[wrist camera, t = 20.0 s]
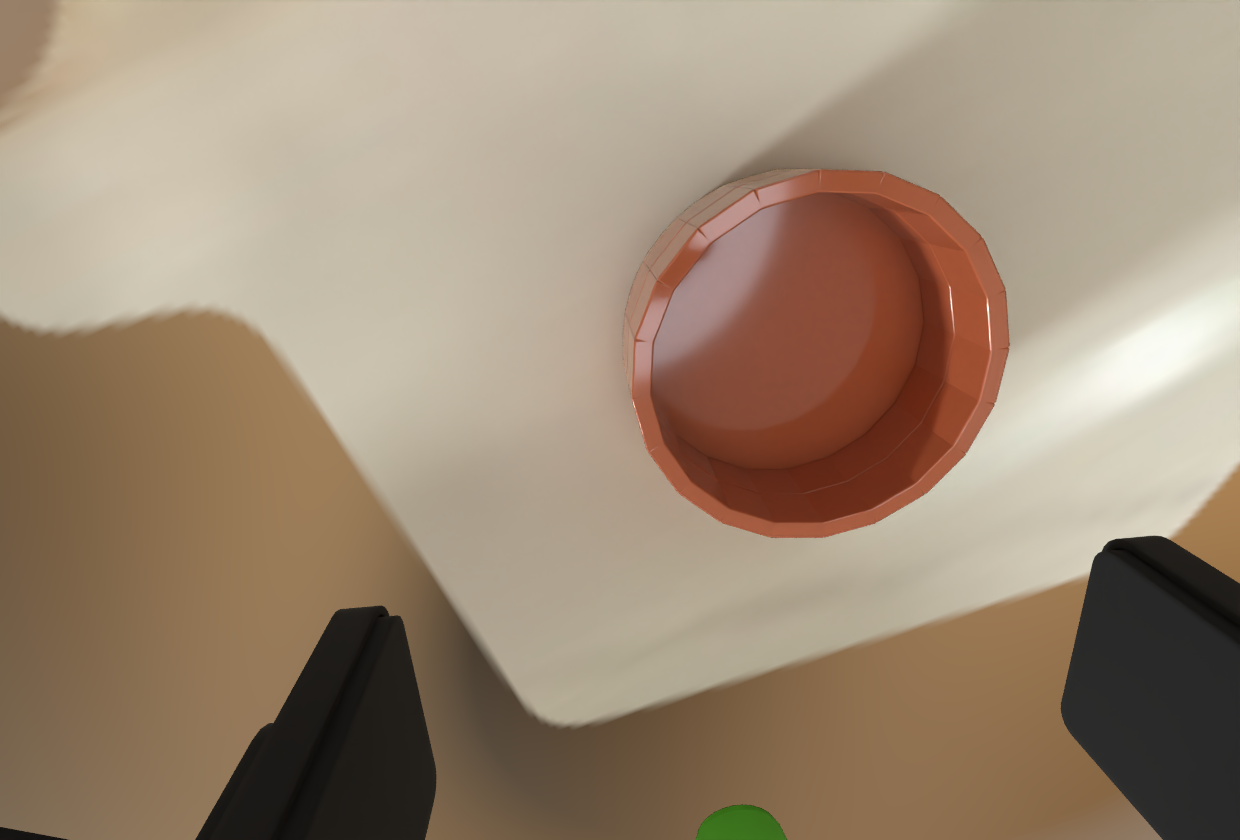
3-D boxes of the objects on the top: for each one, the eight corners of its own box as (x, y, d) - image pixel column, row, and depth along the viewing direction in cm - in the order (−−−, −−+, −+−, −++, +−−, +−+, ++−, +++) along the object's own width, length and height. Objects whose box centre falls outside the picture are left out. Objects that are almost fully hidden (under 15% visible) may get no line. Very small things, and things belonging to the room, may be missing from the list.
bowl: (629, 163, 26) (641, 161, 20) (961, 176, 26) (1053, 177, 21) (617, 475, 30) (625, 538, 25) (899, 477, 31) (962, 538, 26)
